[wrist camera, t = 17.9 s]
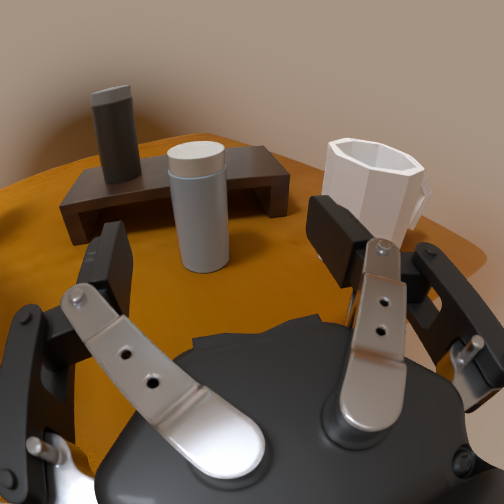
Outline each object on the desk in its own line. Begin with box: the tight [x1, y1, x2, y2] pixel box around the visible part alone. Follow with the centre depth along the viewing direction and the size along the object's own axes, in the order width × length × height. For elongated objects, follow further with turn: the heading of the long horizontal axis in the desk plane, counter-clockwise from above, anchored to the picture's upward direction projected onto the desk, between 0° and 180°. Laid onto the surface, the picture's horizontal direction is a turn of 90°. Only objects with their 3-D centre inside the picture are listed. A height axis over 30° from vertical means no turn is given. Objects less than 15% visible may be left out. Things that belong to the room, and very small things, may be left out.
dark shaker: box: [91, 85, 142, 184], centre depth 26 cm, size 4×4×10 cm
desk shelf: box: [59, 146, 290, 245], centre depth 31 cm, size 24×10×5 cm, turn 103°
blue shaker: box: [167, 141, 230, 273], centre depth 23 cm, size 4×4×10 cm
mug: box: [318, 138, 432, 261], centre depth 24 cm, size 12×9×10 cm
